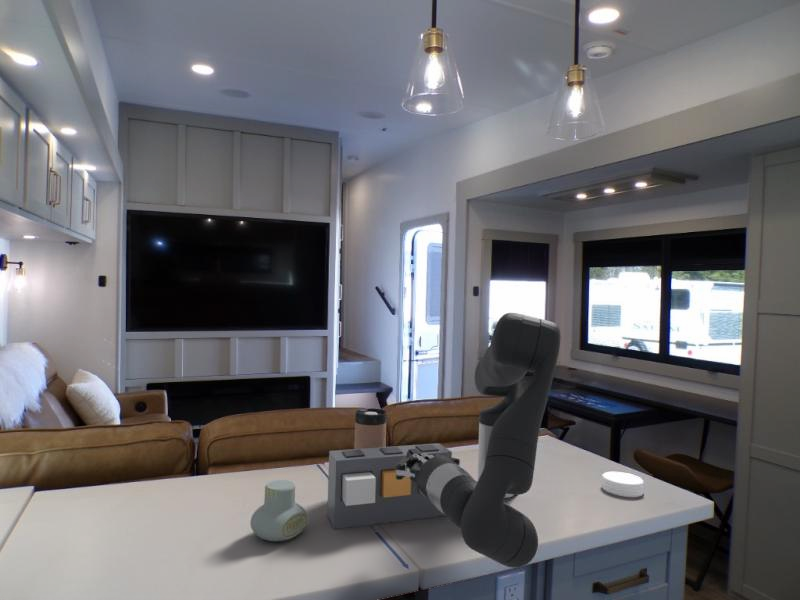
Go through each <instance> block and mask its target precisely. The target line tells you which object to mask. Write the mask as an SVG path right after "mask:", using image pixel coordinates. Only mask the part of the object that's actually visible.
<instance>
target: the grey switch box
mask: <svg viewBox="0 0 800 600" xmlns="http://www.w3.org/2000/svg"><path fill="white" fill-rule="evenodd" d="M409 449H417V450H418V451H421V452H422V453H425V454H427V455H431V454H433V453H434V454H438V455H443V456H447V457H452V458H453V456H452V455H453V454H452V453H453V452H452V451H451V450H450V449H448V448H447V447H446V446H444V445H442V444H441V443H423V444H411V445H410V444H409V445H397V446H396V445H395V446H386V447H379V448H364V449H354V448H352V449H339V450H336V449H335V450H329V451H328V452H329V453H328V478H327V480H328V481H327V483H328V485H327V510H326V511H327V512H326V513H327V514H326V515H327V518H328V519H329V522H330V524H331V526H332V528H333V529H334V530H337V529H339V530H340V529H349V528H355V527H365V526H373V525H380V524H390V523H396V522H406V521H413V520H414V521H415V520H422V519H429V518H431V519H432V518H438V517H445V516H446V515H445V514H443V513H442V512H440V511H439V510H438V509H437V508H436V507H435V506H434V505H433V504H432V503H431V502H430V501H429V500H428V499H427V498H426V497H424V496H423V495H422V494H421V493H420V492H419V491H418V484H417V483H416V482H414V481H412V480H411V495H404V496H394V497H383V496H382V495H381V494H380V489H381V470H389V469H396V464H398V463H399V462H400V461H401V460H402V459H403V458H404V457H405V456H407V452H408V450H409ZM365 471H370V472H371V473H372V474H373V475H374V477H375V478H376V488H375V503H368V504H358V505H349V506H346V505H345V503H344V501H343V500H342V498H341V474H342V473H353V472H365ZM446 517H447V516H446ZM348 527H349V528H348Z"/></svg>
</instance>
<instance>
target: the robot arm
mask: <svg viewBox="0 0 800 600" xmlns="http://www.w3.org/2000/svg"><path fill="white" fill-rule="evenodd" d="M560 348H561V329H560V327H559V326H558V324H556V323H555V322H553V321H549V320H546V319H543V318H539V317H534V316H530V315H527V314H521V313H518V312H507V313H505V314H503V315H502V316H501V317H500V318H499V319H498V321H497V322H496V324H495V327H494V329H493V332H492V334H491V341H490V344H489V346H488V348H487V349H486V350H485V353H484V355H483V357H482V358H480V359H479V360H478V362H477V365H476V367H475V369H474V385H475V387H476V390H477V392H479V394H481V395H484V396H489V397H490V396H491V397H503V399H502V400H501V401H500V402H498V403H497V404H495V405H492V406H489V407H486V408H483V409H481V410H480V412H479V417H478V419H479V420H478V422H479V423H478V449H477V451H478V452H477V453H478V457H477V480H476V479H474V477H472V475H471V474H470V473H469V472H467V470H465V469H464V468H463V467H461V465H460V464H461V463H460V462H461V459H459V458H456V457H453V456H452V457H447V456H443V455H438V454H434V453H433V454H431V455H427V454H425V453H422V452H421V451H418V450H417V449H409V450H408V452H407V456H405V457H404V458H403V459H402V460H401V461H400V462H399V463H398V464H396V479H398V480H401V479H403V478H404V477H405V478H406V477H407V476H408V477H410V479H411V480H412V481H414V482H416V483H417V484H418V487H419V489H420V491H421V492H422V493H423V494H424V496H425V497H426V498H427V499H428V500H429V501H430V502H431V503H432V504H433V505H434V506H435V507H436V508H437V509H438V510H439V511H440V512H442V513H443V514H445V515H446V517H447V518H448V519H449V520H450V521H451V522H452V523H453V524H454V525H455V526H456V527H458V528H459V529H460V530H461V536H462V539H463V542H464V543H465V545H466V546H467V547H468V548H470V549H471V550H472V551H474V552H476V553H478V554H481V555H483V556H485V557H487V558H489V559H491V560H493V561H495V562H497V563H498V564H501V565H503V566H504V567H505V566H506V567H508V568H515V569H517V568H521V567H524V566H526V565H528V564H529V563H531V561H532V560H533V559H534V558H535V556H536V554H537V551H538V547H539V536H538V533H537V530H536V527H535V525H534V523H533V522H532V521H531V519H530V518H529V517H528V516H527V515H525V514H524V513H522V512H521V511H519V510H518V509H516V508H514V507H513V506H511V505H510V504H508V503H506V502H505V499H510V498H512V497H514V496H519V495H524V494H526V493H528V492H529V491H530V490H531V488H532V485H533V480H534V474H535V472H534V471H535V465H536V456H537V450H538V449H537V448H538V441H539V434H540V430H541V426H542V421H543V417H544V415H545V411H546V408H547V403H548V400H549V396H550V392H551V388H552V383H553V379H554V375H555V371H556V367H557V362H558V357H559V354H560ZM528 372H530V373H533V375H532V378H531V381H530V383H529V385H528V387H527V388H526V389H525V390H524V391H523V393H522V394H521V395H520V396H519V388H520V381H521V380H522V379H523V378H524V377H525V376H526V374H527V373H528Z"/></svg>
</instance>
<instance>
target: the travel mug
mask: <svg viewBox="0 0 800 600" xmlns="http://www.w3.org/2000/svg"><path fill="white" fill-rule="evenodd" d="M354 420H355V421H354V422H355V423H354V445H353V447H354V448H353V449H364V448H379V447H387V445H386V443H387V411H386V410H384V409H379V408H368V409H366V410H361V409H357V410H356V411H355V419H354Z"/></svg>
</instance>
